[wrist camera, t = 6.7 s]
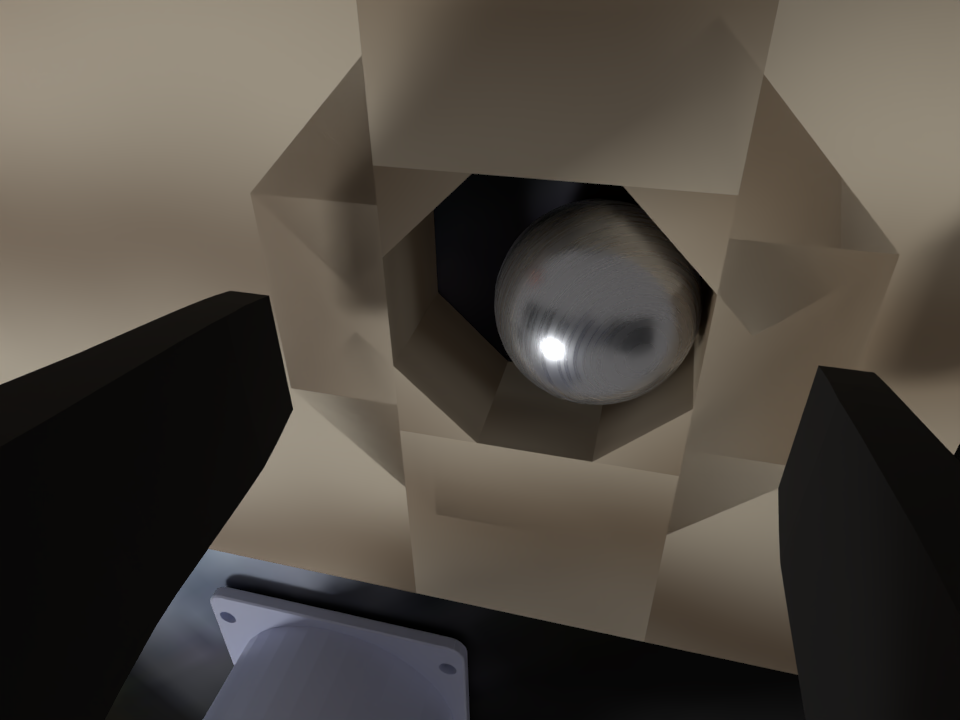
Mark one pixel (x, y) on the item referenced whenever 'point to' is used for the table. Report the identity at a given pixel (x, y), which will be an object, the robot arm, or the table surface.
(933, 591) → the robot arm
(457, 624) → the table surface
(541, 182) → the table surface
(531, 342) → the steel ball
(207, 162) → the maple board
